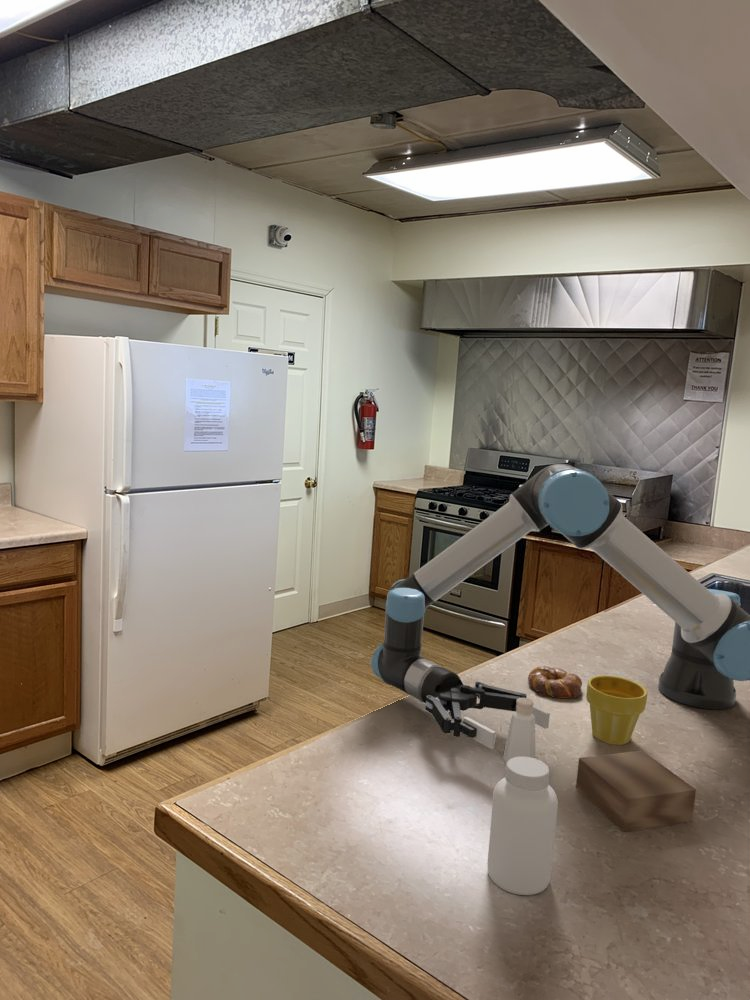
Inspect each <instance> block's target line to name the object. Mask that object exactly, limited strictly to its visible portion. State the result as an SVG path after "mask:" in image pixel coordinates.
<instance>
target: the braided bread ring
mask: <svg viewBox="0 0 750 1000" xmlns="http://www.w3.org/2000/svg"><path fill="white" fill-rule="evenodd" d="M527 680H528V685H529V687H530V688H531V689H532V690H534V691H536V692H537V693H538V694H540V695H542V696H545V697H553V698H556V699H573V698H577V697H579V696H580V695H581V694H582V687H583V681H582V679H581V678H580V676H579V675H577V674H575V673H571V672H570V673H568V672H567V671H566V670H564V669H562V668H559V667H555V666H554V667H550V666H545V665H544V666H543V665H540V666H537V667H535V668H534V669H532V670H531V671H530V672H529V674H528V677H527Z"/></svg>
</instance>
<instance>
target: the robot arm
mask: <svg viewBox="0 0 750 1000" xmlns="http://www.w3.org/2000/svg"><path fill="white" fill-rule="evenodd" d="M547 526H550V527H551V528H553V529H554V530H555V531H557V532H559V533H560V534H561V535H563V537H564V538H566V540H568V541H569V542H571V544H573V545H574V546H576V548H577V549H579V550H587V549H591V550H592V551H593V552H594V553H595V554H597V555H598V556H599V557H600V558H601V559H602V560H603V561H604V562H605V563H607V564H608V565H610V567H612V569H614V570H615V571H616V572H618V573H619V574H620V575H621V576H622V577H623V578H624V579H625V580H626V581H627V582H629V583H630V584H631V585H632V586H633V587H635V588H636V589H637V590H638V591H639V592H641V594H643V596H645V597H646V598H647V599H648V600H649V601H651V602H652V603H653V604H654V605H656V606H657V607H658V608H659V609H660V610H661V611H662V612H663V613H665V614H666V615H667V616H668V617H669V618H670V619H672V620H673V621H674V628H673V629H674V630H673V637H672V644H671V645H672V646H671V647H672V648H671V653H670V656H669V658H668V660H667V662H666V664H665V667H664V668H663V669H664V670H663V672H661V673H660V675H659V678H658V679H659V680H658V687H657V688H658V690H659V691H660V693H661V694H662V695H663V696H665V697H667V698H669V699H671V700H672V701H675V702H677V703H680V704H683V705H687V706H690V707H694V708H699V709H706V710H726V709H730V708H732V707H734V706H735V704H736V699H737V690H736V688H735V685H734V684H735V683H734V681H738V682H744V681H750V614H749V613H748V612H747V611H745V610H744V609H743V608H742V607H741V606H742V605H741V604H742V603H741V597H740V595H739V594H737V593H734V592H731V591H725V590H721V589H713V588H708V587H706V586H704V585H703V584H702V582H700V581H699V580H698V579H696V578H695V577H694V576H693V575H692V574H691V573H690V572H688V571H687V570H686V569H685V568H684V567H682V566H681V565H680V564H679V563H678V562H677V561H675V560H674V559H673V558H672V557H671V556H670V555H669V553H667V552H666V551H664V550H663V549H662V548H661V547H660V546H659V545H657V544H656V543H655V542H654V541H653V540H651V539H650V538H649V537H648V536H647V535H646V534H645V533H643V531H642V530H641V529H639V528H638V527H637V526H635V524H634V523H632V522H631V521H630V520H629V519H628V518H627V517H625V516H624V514H623V504H622V502H621V501H619V500H618V499H617V497H615V496H614V495H612V493H611V492H609V491H608V489H606V488H605V486H604V485H603V483H602V482H601V481H600V480H599V478H597V477H596V476H595V475H593V474H592V473H590V472H588V471H585V470H582V469H579V468H578V467H575V466H573V465H571V464H565V463H556V464H550V465H549V466H546V467H544V468H542V469H540V471H538V472H537V473H535V474H534V475H532V477H530V478H529V479H528V480H527V481H526V482H524V483H523V484H522V485H521V486H519V487H518V488H517V489H516V490H514V491H513V492H512V493H511V494H509V499H508V502H506V503H505V504H504V505H503V506H501V507H500V508H498V509H497V510H496V511H495V512H493V513H492V514H491V515H489V516H488V517H487V518H485V519H484V520H482V521H481V522H480V523H479V524H477V525H476V526H475V527H473V528H472V529H471V530H469V531H468V532H467V533H466V534H464V535H463V536H461V537H460V538H458V539H457V540H455V542H453V543H452V544H451V545H449V546H448V547H447V548H445V549H444V550H443V551H441V552H440V553H439V554H437V555H436V556H435V557H433V558H432V559H430V560H429V561H428V562H427V563H425V564H424V565H423V566H421V567H420V568H418V569H417V570H416V571H414V572H413V574H411V575H409V576H408V577H407V578H404V579H398V580H397V581H395V582H394V583H393V584H392V586H390V588H389V590H388V593H387V595H386V602H385V606H384V607H385V609H384V610H385V615H384V634H383V636H384V637H383V638H384V639H383V642H382V643H381V644H379V645H378V646H377V647H376V648H375V649H374V651H373V652H374V654H373V655H372V656H371V660H370V667H371V671H372V673H373V674H374V675H375V676H376V677H378V678H379V679H381V680H382V681H383V682H384V683H386V684H387V685H389V686H392V687H395V689H398V690H400V691H402V692H404V693H405V694H407V695H409V696H411V697H413V698H414V699H416V700H418V701H419V702H420V703H424V704H425V711H427V713H428V714H429V713H430V714H431V716H432V717H433V719H434V720H435V722H436V724H437V725H438V727H439V728H440V729H441V731H442V733H444V734H446V735H449V734H451V732H452V731H453V732H452V735H453V737H454V738H460V737H461V734H462V735H464V736H467V737H468V738H471V739H473V740H475V741H476V742H477V743H480V744H481V745H483V746H485V747H486V748H488V749H489V750H492V749H495V746H496V744H495V743H496V733H497V732H496V731H495V730H492V729H491V728H489V727H487V726H485V725H483V724H482V723H480V722H477V721H476V720H474V719H472V718H471V717H469V716H464V717H463V716H462V713H461V712H465V711H467V710H469V709H474V710H475V709H476V710H483V709H485V708H488V709H494V710H495V709H496V710H501V711H509V712H515V711H516V705H517V702H516V701H517V699H518V698H528V697H527V696H528V695H527V694H526V693H523V692H519V691H514V690H510V689H506V688H503V687H497V686H493V685H489V684H486V683H484V682H481V681H475V685H474V686H471V685H466V684H464V683H463V681H462V680H461V677H460V676H459V675H458V674H457V673H456V672H454V671H451V670H450V669H448V668H445V667H443V666H441V665H440V664H437V663H435V662H433V661H431V660H429V659H426V658H424V657H422V655H421V654H422V646H423V645H422V644H423V643H422V641H423V640H422V639H423V632H424V631H423V629H424V620H425V613H426V609H427V608H429V607H430V606H432V604H435V602H436V601H438V600H439V599H440V598H442V597H443V596H444V595H446V594H447V593H449V592H450V591H451V590H453V589H454V588H456V587H457V586H459V585H460V584H461V583H462V582H464V581H465V580H466V579H467V578H469V577H470V576H472V575H474V573H475V572H477V571H479V570H480V569H482V567H483V568H484V566H485V565H487V564H488V563H489V562H491V561H492V560H494V559H495V558H496V557H498V556H499V555H500V554H502V553H503V552H505V551H506V550H508V548H510V547H511V546H513V545H514V544H516V543H517V542H518V541H520V540H521V539H523V538H524V537H525V536H526V535H528V534H529V533H530V532H541V530H543V529H544V528H546V527H547ZM478 699H479V703H477V702H478ZM448 711H449V713H448ZM532 714H533V715H534V717H535V725H536V726H539V727H540V728H542V729H544V730H546V729H548V728H549V725H550V724H549V723H550V714H551V713H550V712H549V711H547V710H544V709H542V708H540V707H538V706H535V705H533V711H532ZM462 717H463V718H462Z"/></svg>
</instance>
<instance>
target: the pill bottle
mask: <svg viewBox="0 0 750 1000" xmlns="http://www.w3.org/2000/svg"><path fill="white" fill-rule="evenodd" d="M550 772H551V771H550V768H549V766H548V765H547V763H545V762H543V761H542V760H539V759H538V758H536V759H535V758H531V757H514V758H512V759H510V760H509V761H508V762H507V763H506V764H505V777H503V778H501V779H500V780H499V781H498V782H497V783H496V784H495V787H494V790H493V793H492V794H493V795H492V807H491V818H490V829H489V841H488V854H487V872H488V876H489V878H490V879H491V881H492V882H493V883H494V884H495V885H496V886H497V887H499V888H501V889H502V890H504V891H506V892H509V893H511V894H514V895H520V896H532V895H537V894H540V893H542V892H543V891H544V890H546V888H547V887H548V886H549V884H550V881H551V876H552V866H553V864H552V863H553V857H554V845H555V838H556V837H555V836H556V827H557V826H556V825H557V815H558V809H559V808H558V805H559V802H558V798H557V797H558V796H557V794H556V792H555V790H554V788H553V787H552V786H551V785H550V784H549V783H550V782H549V781H550Z"/></svg>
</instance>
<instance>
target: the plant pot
mask: <svg viewBox="0 0 750 1000" xmlns="http://www.w3.org/2000/svg"><path fill="white" fill-rule="evenodd" d="M585 697H586V701H587V703H589V710H590V711H589V712H590V721H591V722H590V723H591V724H590V725H591V733H592V735H593V736H594V737H595V738H596V739H597V740H598V741H601V742H603V743H605V744H609V745H614V746H615V745H616V746H619V745H620V746H622V745H625V744H628V743H629V742H630V740H631V738H632V737H633V736H632V735H633V733H634V730H635V727H636V725H637V722H638V721H639V718H640V716H641V714H643V713H644V711H645V710H646V705H647V700H648V699H647V698H648V691H647V689H646V687H644V685H642V684H640V683H638V682H636V681H634V680H631V679H628V678H625V677H621V676H616V675H605V674H604V675H597V676H596V675H595V676H592V677H591V678H589V680H588V681H587V687H586V696H585Z"/></svg>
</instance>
